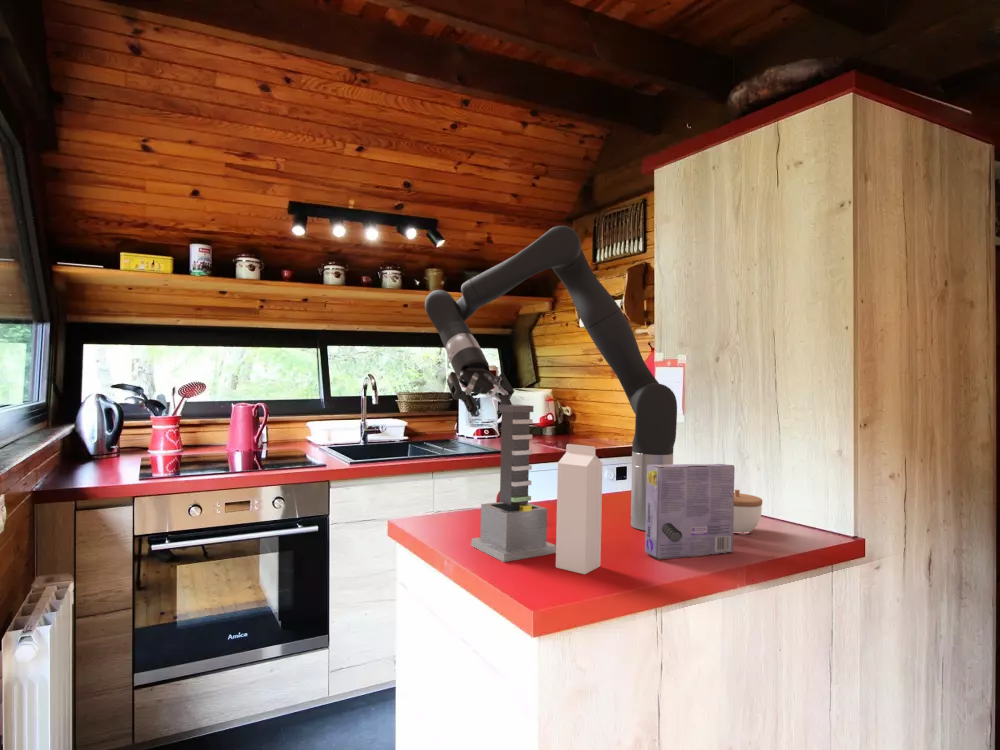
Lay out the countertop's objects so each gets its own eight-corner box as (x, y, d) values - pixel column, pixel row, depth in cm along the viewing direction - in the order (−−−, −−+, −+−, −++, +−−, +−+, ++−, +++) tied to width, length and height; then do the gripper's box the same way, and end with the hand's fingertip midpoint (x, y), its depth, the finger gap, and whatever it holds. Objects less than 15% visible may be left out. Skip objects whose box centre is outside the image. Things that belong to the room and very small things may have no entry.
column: (517, 499, 123) (519, 404, 123) (532, 504, 118) (535, 406, 118) (496, 501, 120) (498, 404, 120) (511, 506, 115) (513, 406, 116)
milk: (571, 560, 113) (574, 442, 114) (601, 566, 110) (603, 445, 110) (554, 568, 108) (557, 444, 109) (584, 575, 105) (587, 447, 105)
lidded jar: (763, 529, 140) (764, 488, 140) (759, 539, 131) (760, 496, 131) (714, 523, 145) (715, 484, 145) (707, 532, 136) (708, 491, 136)
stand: (520, 538, 128) (521, 493, 128) (555, 553, 117) (556, 504, 118) (471, 545, 121) (472, 498, 121) (503, 562, 111) (504, 510, 111)
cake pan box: (721, 546, 125) (723, 460, 125) (739, 553, 120) (741, 464, 120) (642, 554, 118) (644, 463, 118) (657, 561, 114) (659, 467, 114)
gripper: (444, 344, 130) (469, 400, 120) (500, 347, 138) (528, 400, 128) (432, 368, 134) (456, 424, 125) (487, 370, 142) (513, 423, 132)
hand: (492, 412), depth 126 cm, fingers open, 8 cm apart
